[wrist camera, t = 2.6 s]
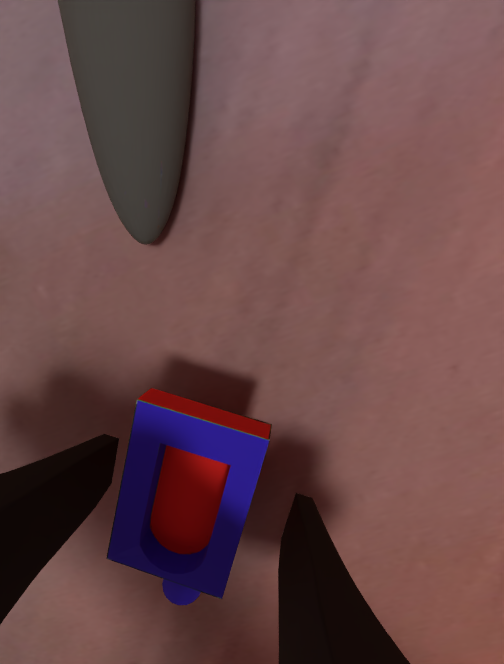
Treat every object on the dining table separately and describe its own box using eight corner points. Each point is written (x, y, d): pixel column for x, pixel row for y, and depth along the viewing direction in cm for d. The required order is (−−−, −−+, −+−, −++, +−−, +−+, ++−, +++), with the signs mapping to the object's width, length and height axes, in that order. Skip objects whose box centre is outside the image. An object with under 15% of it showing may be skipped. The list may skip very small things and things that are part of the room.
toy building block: (189, 357, 12) (152, 523, 14) (136, 399, 8) (92, 630, 9) (277, 383, 12) (228, 548, 13) (269, 440, 8) (200, 670, 9)
